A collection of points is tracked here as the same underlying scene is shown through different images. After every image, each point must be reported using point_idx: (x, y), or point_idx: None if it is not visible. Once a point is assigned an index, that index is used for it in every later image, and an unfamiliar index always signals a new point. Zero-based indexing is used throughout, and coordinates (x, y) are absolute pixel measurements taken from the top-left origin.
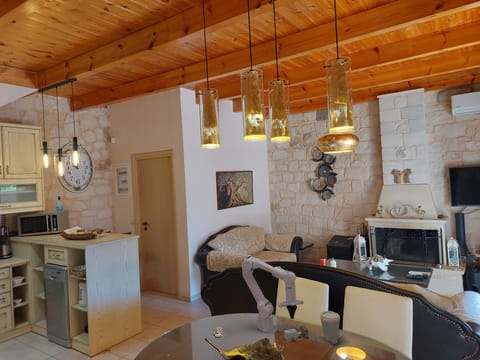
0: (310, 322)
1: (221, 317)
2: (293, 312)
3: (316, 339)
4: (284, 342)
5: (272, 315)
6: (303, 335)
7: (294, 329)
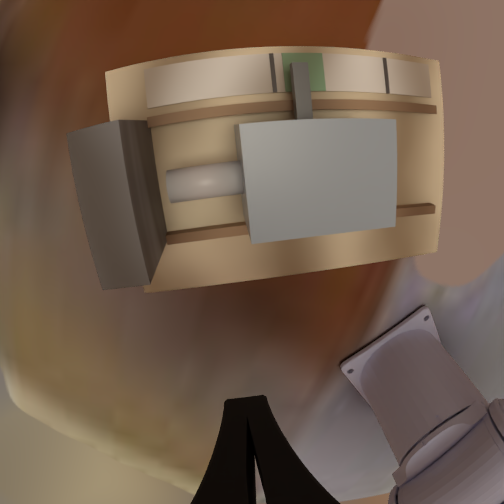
0: (73, 424)
1: None
2: (240, 489)
3: (45, 156)
4: (388, 102)
5: (413, 458)
6: (149, 163)
7: (254, 220)
